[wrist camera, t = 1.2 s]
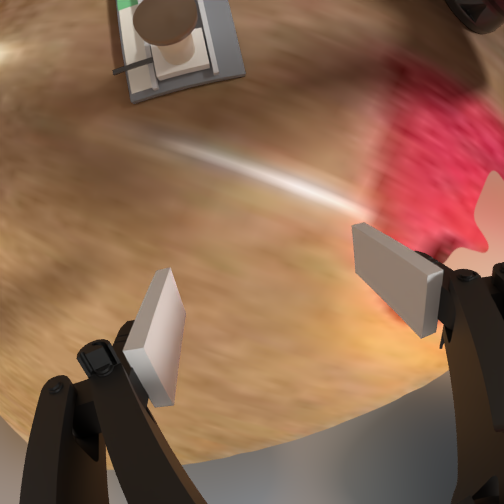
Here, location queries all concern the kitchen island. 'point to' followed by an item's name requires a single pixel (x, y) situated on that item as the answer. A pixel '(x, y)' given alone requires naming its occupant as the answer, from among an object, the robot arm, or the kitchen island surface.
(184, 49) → the tuning slider
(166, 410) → the kitchen island surface
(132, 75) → the board
